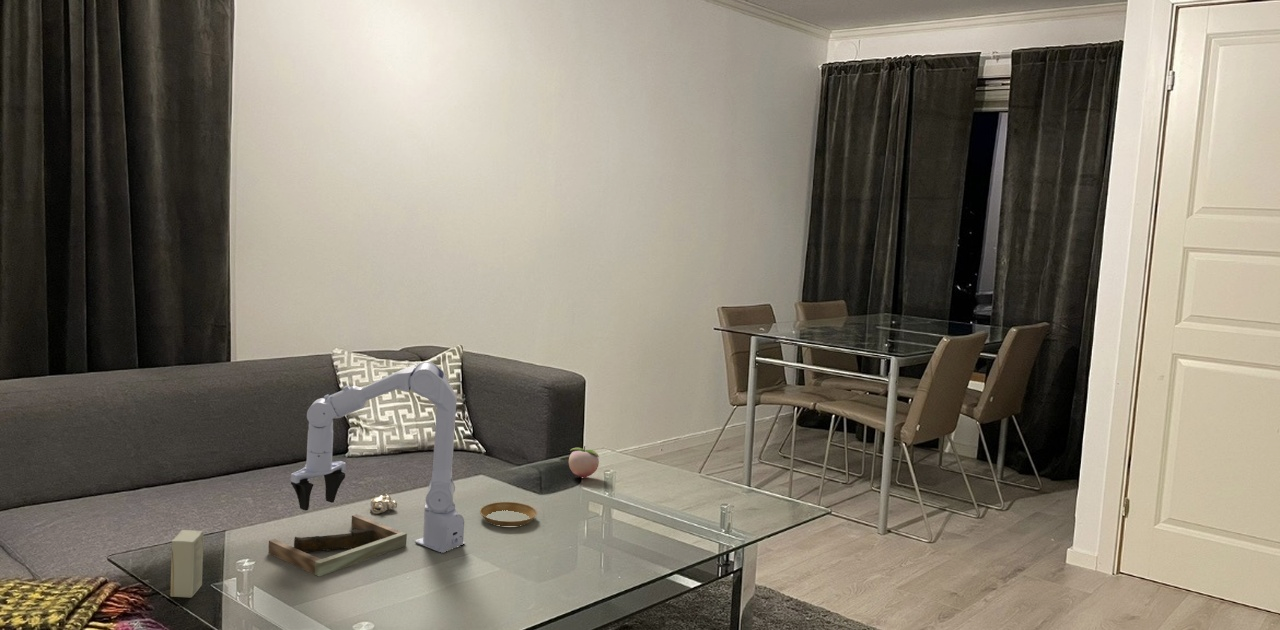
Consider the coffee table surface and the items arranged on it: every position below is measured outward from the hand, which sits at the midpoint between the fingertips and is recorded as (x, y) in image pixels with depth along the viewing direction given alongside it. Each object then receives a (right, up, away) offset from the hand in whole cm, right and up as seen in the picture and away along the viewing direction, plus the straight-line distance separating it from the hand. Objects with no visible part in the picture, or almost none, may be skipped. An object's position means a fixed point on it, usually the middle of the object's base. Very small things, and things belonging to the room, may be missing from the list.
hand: (317, 505), depth 234 cm
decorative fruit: (+59, -4, +63) cm, 87 cm away
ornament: (+9, -6, +25) cm, 27 cm away
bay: (+6, -10, -3) cm, 12 cm away
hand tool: (+5, -10, -3) cm, 12 cm away
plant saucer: (+42, -9, +25) cm, 49 cm away
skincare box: (-17, -12, -30) cm, 37 cm away
